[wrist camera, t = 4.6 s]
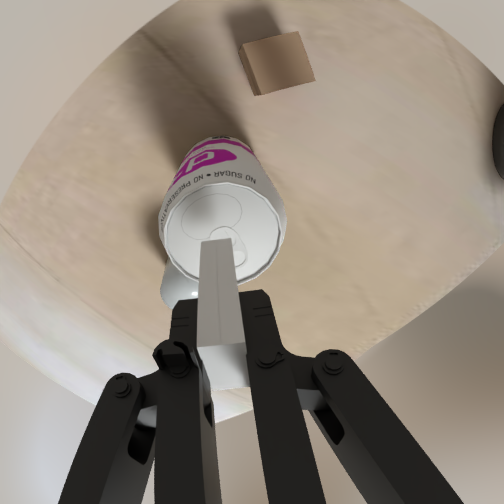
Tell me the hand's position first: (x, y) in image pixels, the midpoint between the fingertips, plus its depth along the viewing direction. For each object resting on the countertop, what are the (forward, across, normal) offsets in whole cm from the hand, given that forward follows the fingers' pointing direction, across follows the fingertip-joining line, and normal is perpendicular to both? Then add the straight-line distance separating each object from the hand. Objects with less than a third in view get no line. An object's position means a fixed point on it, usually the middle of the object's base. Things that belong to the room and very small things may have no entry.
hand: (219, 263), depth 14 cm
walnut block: (+18, -6, -11) cm, 22 cm away
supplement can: (+18, 0, 0) cm, 18 cm away
